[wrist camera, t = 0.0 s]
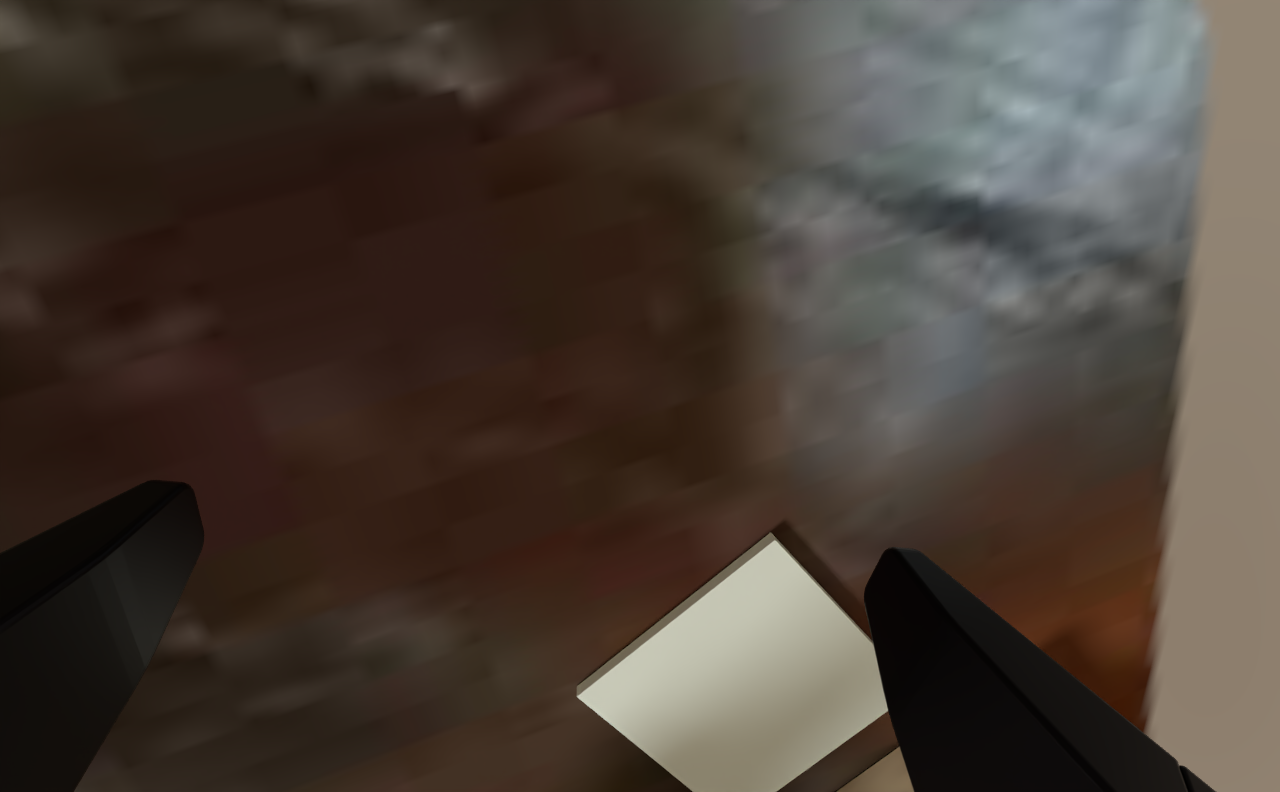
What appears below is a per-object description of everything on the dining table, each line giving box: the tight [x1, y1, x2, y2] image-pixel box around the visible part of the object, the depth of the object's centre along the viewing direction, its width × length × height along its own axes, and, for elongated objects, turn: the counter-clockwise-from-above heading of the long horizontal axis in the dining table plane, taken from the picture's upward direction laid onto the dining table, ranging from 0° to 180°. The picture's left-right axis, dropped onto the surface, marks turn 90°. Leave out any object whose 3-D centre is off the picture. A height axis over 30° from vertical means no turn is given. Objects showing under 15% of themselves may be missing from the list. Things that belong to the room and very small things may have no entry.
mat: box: [577, 533, 888, 792], centre depth 29 cm, size 11×11×1 cm
